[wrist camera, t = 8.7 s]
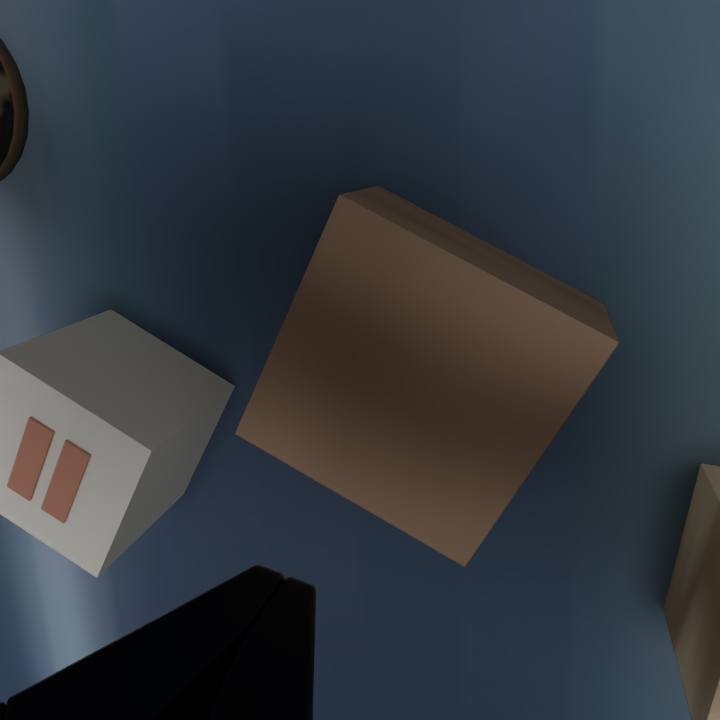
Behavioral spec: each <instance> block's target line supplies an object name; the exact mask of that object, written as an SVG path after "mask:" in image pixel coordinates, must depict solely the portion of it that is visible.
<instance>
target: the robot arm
mask: <svg viewBox="0 0 720 720" xmlns="http://www.w3.org/2000/svg"><path fill="white" fill-rule="evenodd" d="M315 612H316V589H315V587H314V586H313V585H311V584H308V583H306V582H303V581H300V580H298V579H295V578H292V577H289V578H286V579H285V577H284V575H283V574H281V573H279V572H277V571H274V570H271V569H269V568H266V567H263V566H260V565H257V566H253V567H251V568H249V569H247V570H246V571H244V572H242V573H240V574H238V575H236V576H234V577H233V578H231V579H229V580H227V581H225V582H223V583H221V584H220V585H218V586H216V587H214V588H212V589H210V590H208V591H207V592H205V593H203V594H201V595H199V596H197V597H195V598H194V599H192V600H190V601H188V602H186V603H184V604H182V605H181V606H179V607H177V608H175V609H173V610H171V611H169V612H168V613H166V614H164V615H162V616H160V617H158V618H156V619H155V620H153V621H151V622H149V623H147V624H145V625H143V626H142V627H140V628H138V629H136V630H134V631H132V632H130V633H129V634H127V635H125V636H123V637H121V638H119V639H117V640H116V641H114V642H112V643H110V644H108V645H106V646H104V647H103V648H101V649H99V650H97V651H95V652H93V653H91V654H90V655H88V656H86V657H84V658H82V659H80V660H78V661H77V662H75V663H73V664H71V665H69V666H67V667H65V668H64V669H62V670H60V671H58V672H56V673H54V674H52V675H51V676H49V677H47V678H45V679H43V680H41V681H39V682H38V683H36V684H34V685H32V686H30V687H28V688H26V689H25V690H23V691H21V692H19V693H17V694H15V695H13V696H12V697H10V698H9V699H8V701H7V704H5V703H4V702H0V720H313V686H314V649H315Z"/></svg>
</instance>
